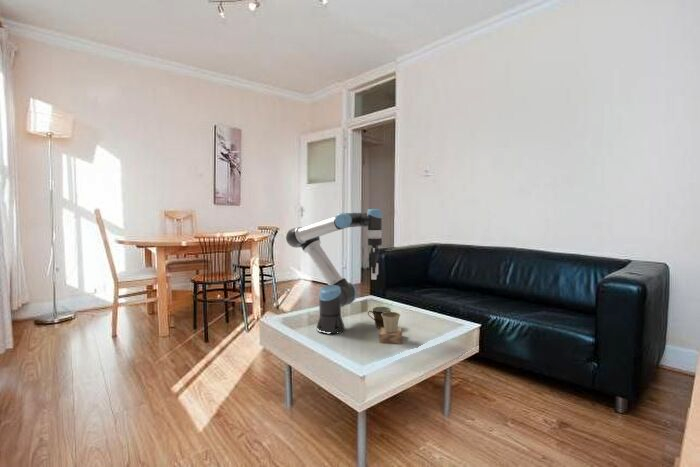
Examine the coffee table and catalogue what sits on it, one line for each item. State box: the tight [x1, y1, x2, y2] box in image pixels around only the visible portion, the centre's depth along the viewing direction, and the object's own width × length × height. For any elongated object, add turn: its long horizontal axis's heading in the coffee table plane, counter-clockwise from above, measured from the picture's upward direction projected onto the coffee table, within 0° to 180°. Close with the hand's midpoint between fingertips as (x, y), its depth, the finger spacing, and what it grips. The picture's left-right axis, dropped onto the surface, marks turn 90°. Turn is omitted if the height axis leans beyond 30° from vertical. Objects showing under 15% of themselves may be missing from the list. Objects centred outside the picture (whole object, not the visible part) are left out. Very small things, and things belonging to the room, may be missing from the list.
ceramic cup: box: [367, 306, 392, 329], centre depth 199 cm, size 13×10×10 cm
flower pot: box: [381, 311, 401, 333], centre depth 180 cm, size 9×9×9 cm
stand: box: [378, 327, 403, 344], centre depth 180 cm, size 11×11×4 cm
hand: (374, 277), depth 194 cm, fingers open, 13 cm apart
